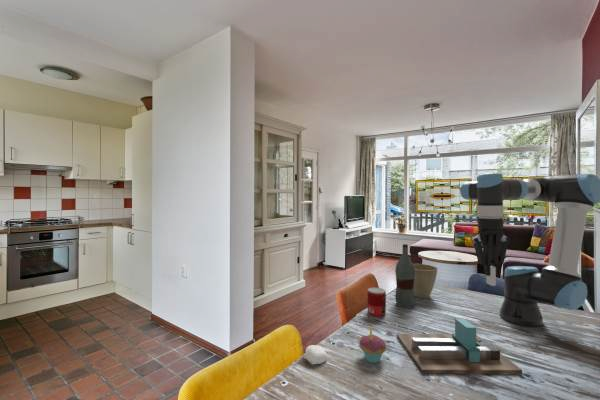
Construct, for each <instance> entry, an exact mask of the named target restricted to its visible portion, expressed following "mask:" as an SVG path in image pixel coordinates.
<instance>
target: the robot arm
mask: <svg viewBox="0 0 600 400" xmlns="http://www.w3.org/2000/svg"><path fill="white" fill-rule="evenodd" d="M459 193H460V196H461V197H462V198H463V199H464V200H470V201H477V217H478V218H477V233H476V236H475V235H474V236H472V237H470V241H471V243H472V244H473V247H474V251H475V254H476V259H477V262H478V264H480V265H483V266H484V267H483V270H484V271H483V272H484V273H483V274H484V275H485V278H486V280H485V281H486V283H485V284H487V285H489V286H491V287H495V286H496V285H497V279H496V276H498V274H499V272H498V268H500V266H502V265H504V262H505V258H506V255H507V254H506V253H507V250H508V246H509V243H510V242H511V239H512V238H511V237H509V236H506V235H505V233H504V231H503V229H504V219H503V217H504V201H510V200H511V201H517V200H525V201H537V202H546V203H554V206H555V208H557V209H558V210H557V215H556V220H555V226H554V230H553V231H554V232H553V237H552V240H551V242H552V243H551V247H550V253H549V258H548V264H547V265H546V266H544V267H542V269H541V272H539V269H538V268H537V267H535V266H523V265H513V266H507V267H506V268H505V269H504V276H503V278H504V279H503V280H504V285H503V286H504V287H503V288H504V289H503V290H504V297H503V301H502V304H501V307H500V308H499V317H500V318H502V319H503V320H505V321H507V322H510V323H512V324H516V325H520V326H523V327H541V326H543V324H544V317H543V316H542V312H541V310H540V308H539V307H540V306H539V304H538V303H539V302H540V303H543V304H547V305H550V306H553V307H556V308H558V309H563V310H567V311H568V310H569V311H576V310H577V309H579V308H580V307H581V306H583V304H584V303H585V302H586V299H587V297H588V287H587V284H586V283H585V282H584V281H582V276H581V274H579V273H578V268H579V261H580V256H581V250H582V245H583V244H582V243H583V237H584V232H585V226H586V221H587V215H588V213H589V212H590V211H592V210H594V207H595V204H600V178H599V176H597V175H595V174H593V173H576V174H574V173H573V174H561V175H559V174H558V175H548V176H540V177H535V178H524V179H523V180H522V179H517V178H509V179H506V178H505V179H504V176H503V174H502V173H501V172H498V173H497V172H492V173H491V172H490V173H480V174H479V175H478V176H477V180H475V181H473V180H472V181H471V180H470V181H465V182H464V183H462V184H461V186H460V189H459Z"/></svg>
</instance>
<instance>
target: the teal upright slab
mask: <svg viewBox="0 0 600 400" xmlns="http://www.w3.org/2000/svg"><path fill="white" fill-rule="evenodd" d="M451 334H452V339H457V340H458V341H459V342H460V343H461V344H462V345H463V346H464V347H465V348H466V349H468V350H469V361H470V362H480V349H479V348H478V347H476V335H477V327H476V326H475V325H473V324H472V323H471V322H469V321H468V320H467V319H465V318H454V333H453V332H452V333H451Z"/></svg>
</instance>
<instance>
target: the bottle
mask: <svg viewBox="0 0 600 400" xmlns="http://www.w3.org/2000/svg"><path fill="white" fill-rule="evenodd" d="M414 264H415V263H413V262H412V260H411V258H410V256H409V244H405V243H403V244H402V254H401V256H400V258H399V260H398V261H397V262H396V266H395V271H394V272H395V282H396V288H395V296H394V297H395V303H396V306H398V307H401V308H405V309H410V308H411V309H412V308H414V306H415V302H416V301H415V300H416V296H415V294H414V277H415V268H414Z"/></svg>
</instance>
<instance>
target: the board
mask: <svg viewBox="0 0 600 400" xmlns="http://www.w3.org/2000/svg"><path fill="white" fill-rule="evenodd" d="M412 338H451V339H452V333H397V334H396V339H398V341H399V342H400V344H401V345H402V346H403V348H404V349H405V351H406V352H407V354H408V355H409V357H410V358H411V359H412V361H413V362H414V364H415V365H416V367H417V368H418V369H419V371H420V373H421V374H423V375H424V374H427V375H429V374H431V375H432V374H433V375H434V374H435V375H439V374H440V375H442V374H444V375H446V374H447V375H450V374H452V375H455V374H457V375H460V374H461V375H463V374H464V375H466V374H467V375H474V374H475V375H522V374H523V369H521V368H520V367H519V366H518V365H516V364H515V363H514V362H513V361H511V360H510V359H509V358H507V356H505V355H503V354H502V353H501V352H500V360H480V362H470V361H469V360H422V359H421V358H420V357H419V350H414V349H413V347H412ZM476 339H482V338H481V336H479V335H478V334H476Z"/></svg>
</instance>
